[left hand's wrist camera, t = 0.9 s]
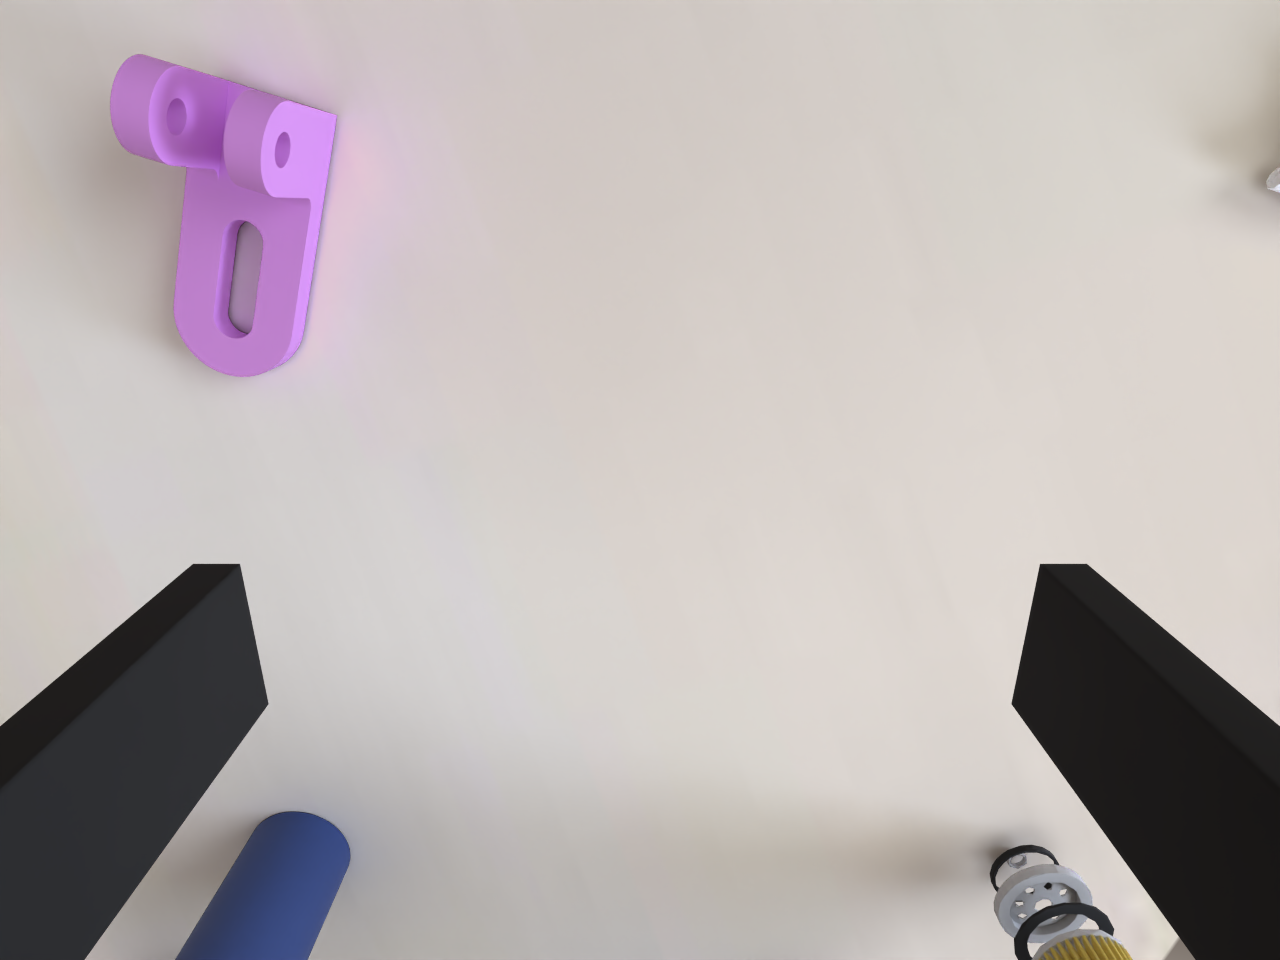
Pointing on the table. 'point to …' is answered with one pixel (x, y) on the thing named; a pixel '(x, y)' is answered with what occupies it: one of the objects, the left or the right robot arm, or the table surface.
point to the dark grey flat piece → (1274, 180)
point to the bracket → (232, 200)
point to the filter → (1052, 912)
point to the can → (274, 893)
